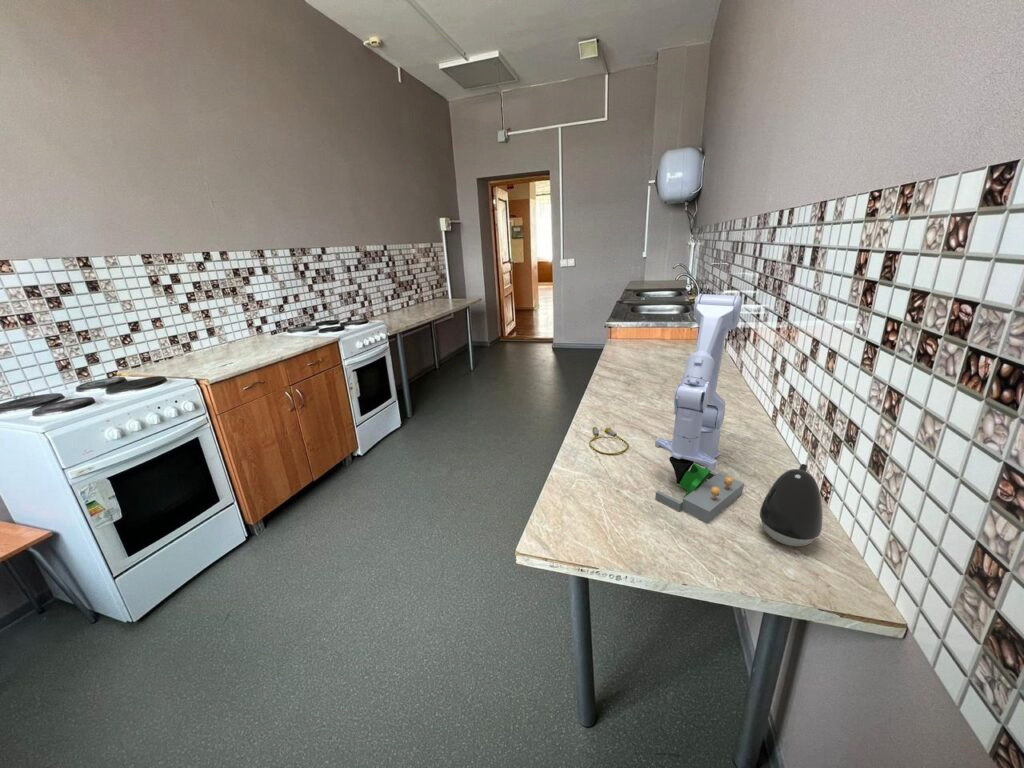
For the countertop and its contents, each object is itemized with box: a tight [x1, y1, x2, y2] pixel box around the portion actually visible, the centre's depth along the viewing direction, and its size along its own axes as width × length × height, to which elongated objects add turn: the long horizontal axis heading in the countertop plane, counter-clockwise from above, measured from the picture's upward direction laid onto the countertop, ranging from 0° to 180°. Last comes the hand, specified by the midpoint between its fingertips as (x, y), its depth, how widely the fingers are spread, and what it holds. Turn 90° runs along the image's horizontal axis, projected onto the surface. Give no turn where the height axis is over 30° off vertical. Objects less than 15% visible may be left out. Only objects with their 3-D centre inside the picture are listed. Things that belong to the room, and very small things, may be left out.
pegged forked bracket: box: [654, 467, 745, 524], centre depth 94 cm, size 18×12×6 cm, turn 128°
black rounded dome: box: [759, 463, 824, 547], centre depth 79 cm, size 10×10×15 cm
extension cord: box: [588, 426, 630, 456], centre depth 122 cm, size 12×16×2 cm
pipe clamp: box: [678, 462, 711, 498], centre depth 98 cm, size 11×4×5 cm, turn 137°
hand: (680, 482), depth 99 cm, fingers closed, pressing on pipe clamp
